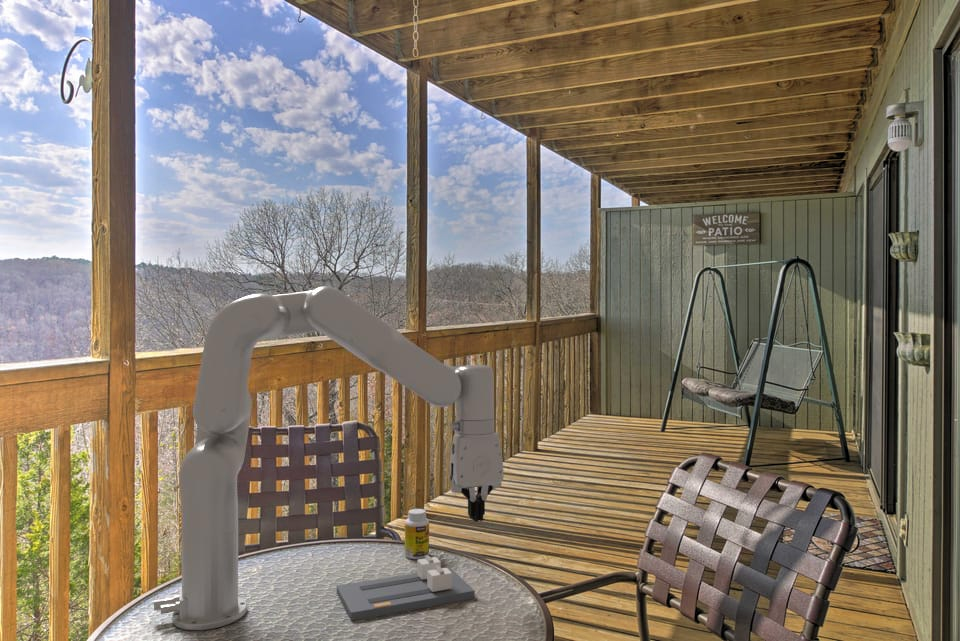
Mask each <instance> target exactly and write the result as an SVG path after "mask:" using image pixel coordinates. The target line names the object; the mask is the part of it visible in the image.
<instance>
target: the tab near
mask: <svg viewBox="0 0 960 641" xmlns="http://www.w3.org/2000/svg"><path fill="white" fill-rule="evenodd" d="M447 568H448V567H442V566H441V567H440V566H435V570H429V571H427V586H428V587H429V589H430V590H431V591H432V592H435V591H440V590H446V589H452V573H451V572H450V571H449V570H448V569H447Z"/></svg>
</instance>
